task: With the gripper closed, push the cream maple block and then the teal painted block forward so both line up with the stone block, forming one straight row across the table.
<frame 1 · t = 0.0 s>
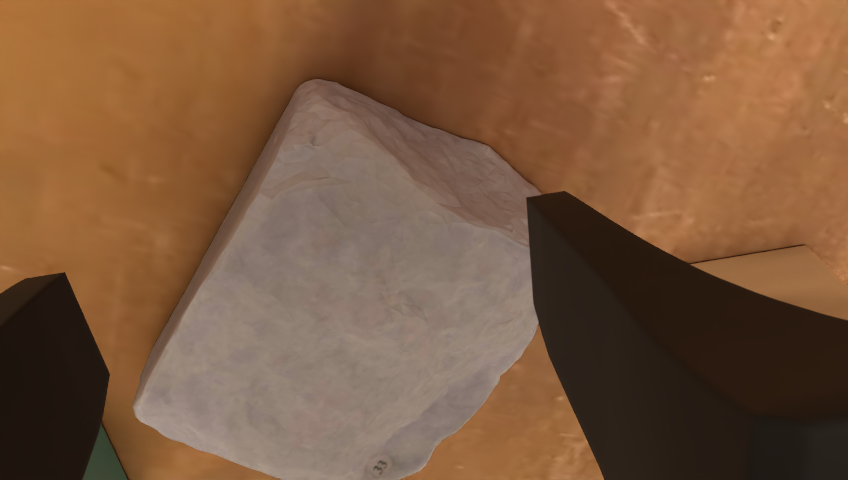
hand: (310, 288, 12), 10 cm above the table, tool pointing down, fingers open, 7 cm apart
stone block: (362, 282, 24), on the table
teal block: (39, 455, 26), on the table
maple block: (726, 317, 26), on the table
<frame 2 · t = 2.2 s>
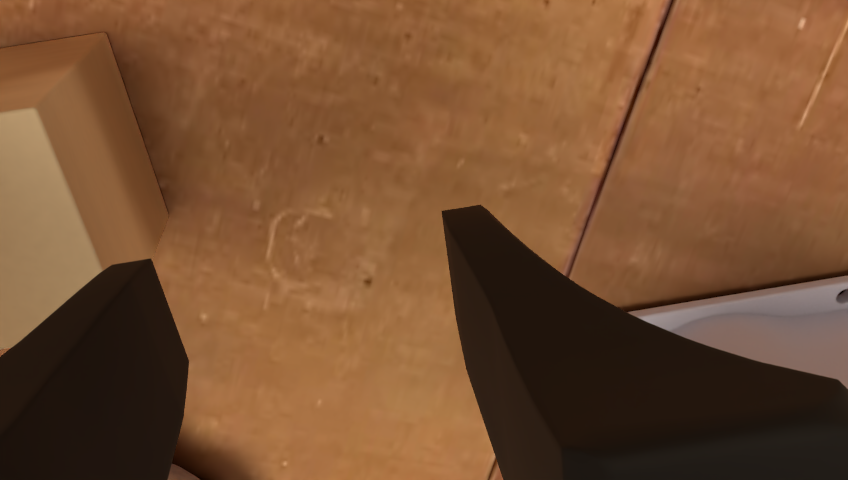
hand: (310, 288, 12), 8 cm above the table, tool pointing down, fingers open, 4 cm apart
maple block: (40, 145, 19), on the table
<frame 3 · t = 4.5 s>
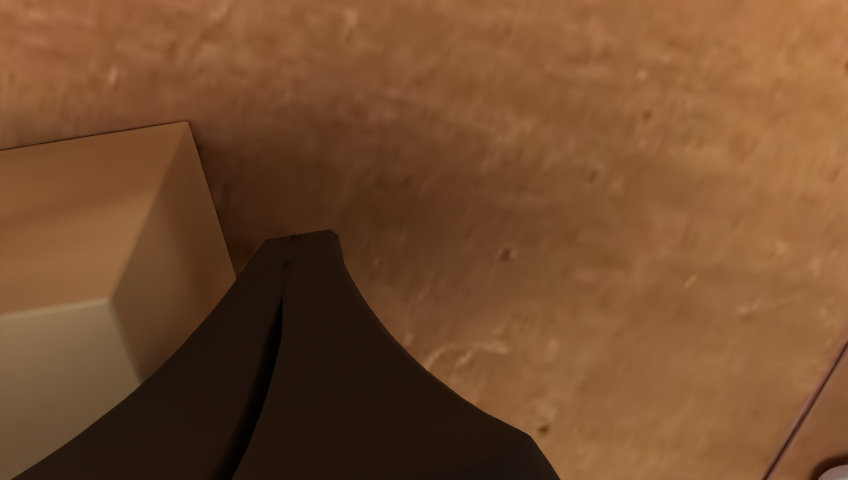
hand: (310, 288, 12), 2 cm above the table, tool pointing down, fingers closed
maple block: (87, 275, 13), on the table, touching gripper
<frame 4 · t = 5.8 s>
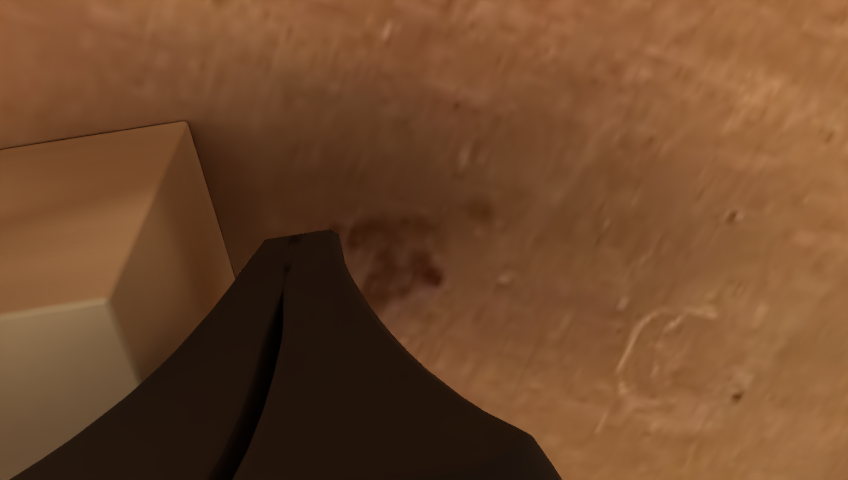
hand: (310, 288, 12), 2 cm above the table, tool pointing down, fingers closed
maple block: (85, 274, 13), on the table, touching gripper
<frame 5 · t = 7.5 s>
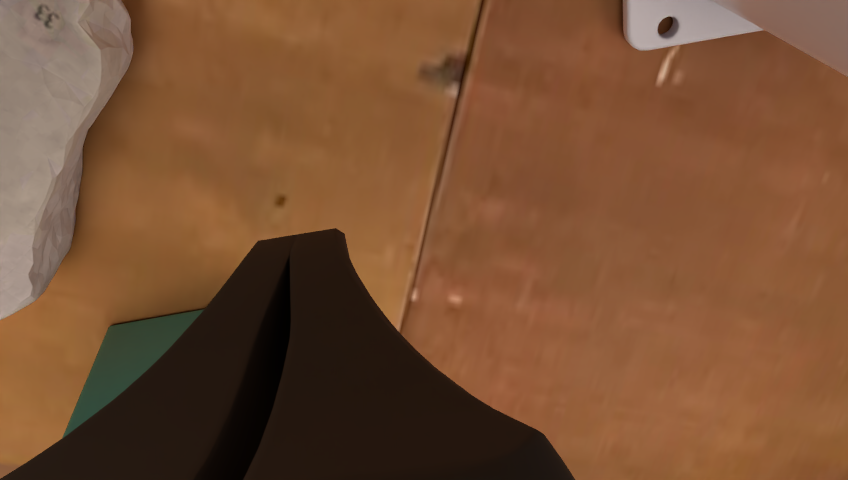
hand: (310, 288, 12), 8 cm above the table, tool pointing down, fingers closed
teal block: (218, 375, 23), on the table
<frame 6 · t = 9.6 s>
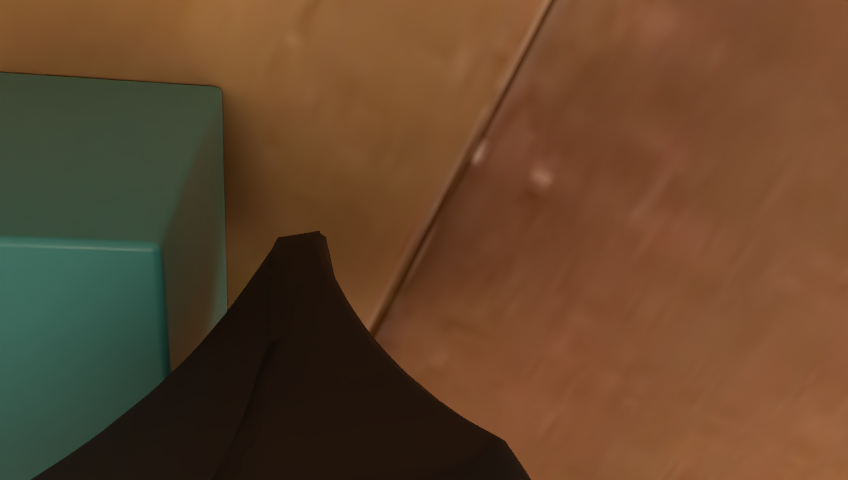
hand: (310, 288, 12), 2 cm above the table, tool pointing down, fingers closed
teal block: (73, 218, 13), on the table, touching gripper
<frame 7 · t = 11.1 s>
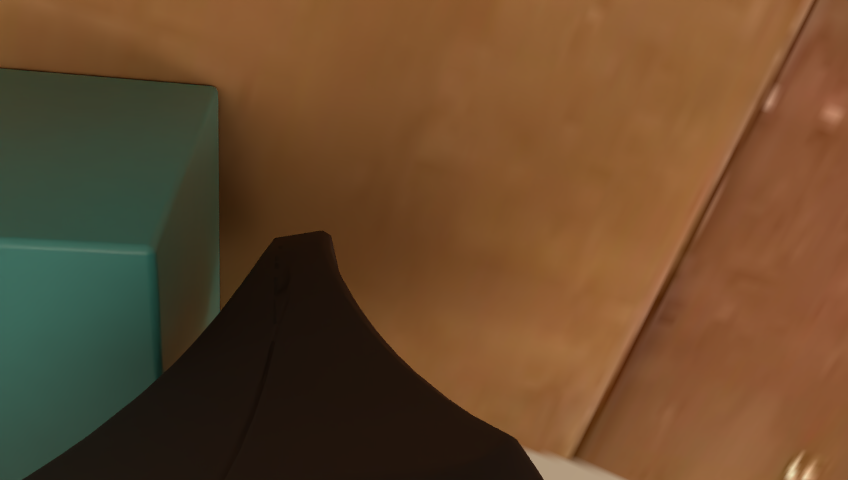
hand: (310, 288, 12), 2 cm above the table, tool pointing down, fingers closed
teal block: (66, 215, 13), on the table, touching gripper
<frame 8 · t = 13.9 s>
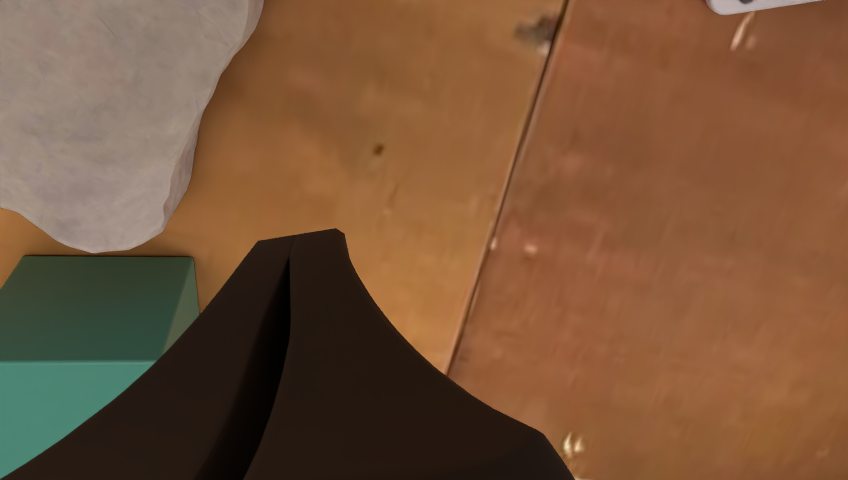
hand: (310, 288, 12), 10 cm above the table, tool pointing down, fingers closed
teal block: (120, 322, 25), on the table
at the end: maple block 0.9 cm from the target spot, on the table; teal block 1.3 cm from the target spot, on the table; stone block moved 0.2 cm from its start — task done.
